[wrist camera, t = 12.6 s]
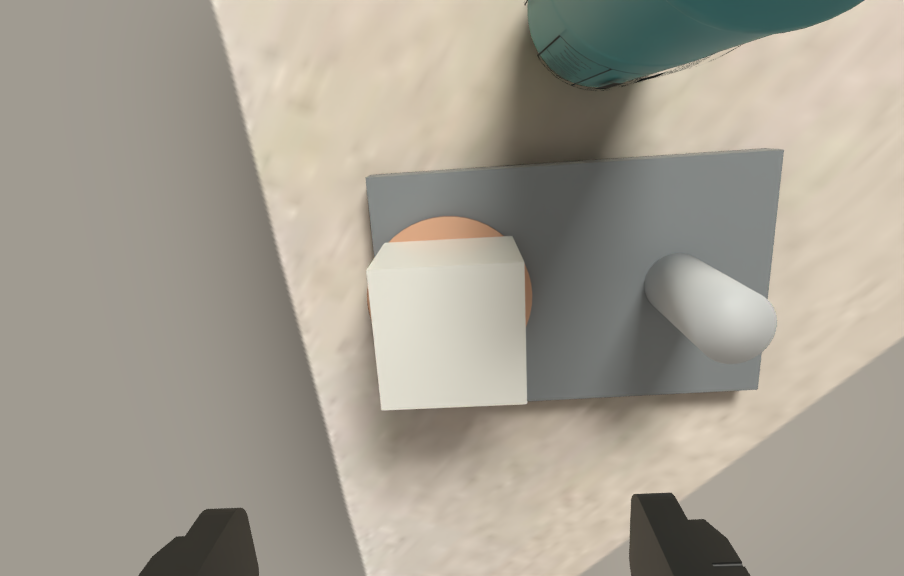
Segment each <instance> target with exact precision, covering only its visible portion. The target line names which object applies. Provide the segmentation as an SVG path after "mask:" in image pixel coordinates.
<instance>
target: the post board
mask: <svg viewBox="0 0 904 576" xmlns="http://www.w3.org/2000/svg"><path fill="white" fill-rule="evenodd" d="M783 153H784V150H781V149H767V148H764V149H749V150H734V151H719V152H704V153H689V154H674V155H660V156H645V157H630V158H615V159H600V160H585V161H570V162H555V163H540V164H525V165H511V166H496V167H481V168H466V169H451V170H436V171H421V172H406V173H391V174H376V175H370V176H368V177H366V187H367V196H368V204H369V213H370V222H371V231H372V240H373V249H374V258H375V256H376V255H377V253H378V252H379V250H380V249H381V247H382V246H383V244H384V243H388V242H389V241H390V240H391V239H392V238H393V237H394V236H395V235H397V234H398V233H399V232H401V231H402V230H403V229H405V228H407V227H408V226H410V225H412V224H414V223H417V222H419V221H421V220H425V219H428V218H432V217H439V216H460V217H467V218H470V219H474V220H477V221H480V222H482V223H485V224H487V225H489V226H491V227H492V228H494V229H496V230H497V231H498V232H500V233H501V234H502V235H504V236H513V238H514V241H515V243H516V245H517V247H518V249H519V251H520V254H521V256H522V258H523V260H524V263H525V265H526V268H527V271H528V273H529V277H530V281H531V286H532V307H531V312H530V317H529V320H528V323H527V325H526V371H527V401H543V400H563V399H582V398H602V397H621V396H641V395H660V394H680V393H699V392H719V391H738V390H757V389H758V381H759V372H760V363H761V354H762V352H763V351H764V350H765V349H766V348H767V346H768V345H769V344H770V342H771V341H772V339H773V337H774V334H775V331H776V327H777V317H776V313H775V310H774V307H773V306H772V304H771V303H770V302H769V301H768V300H767V299H768V290H769V281H770V272H771V263H772V254H773V244H774V235H775V226H776V217H777V208H778V199H779V190H780V181H781V171H782V162H783Z"/></svg>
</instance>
